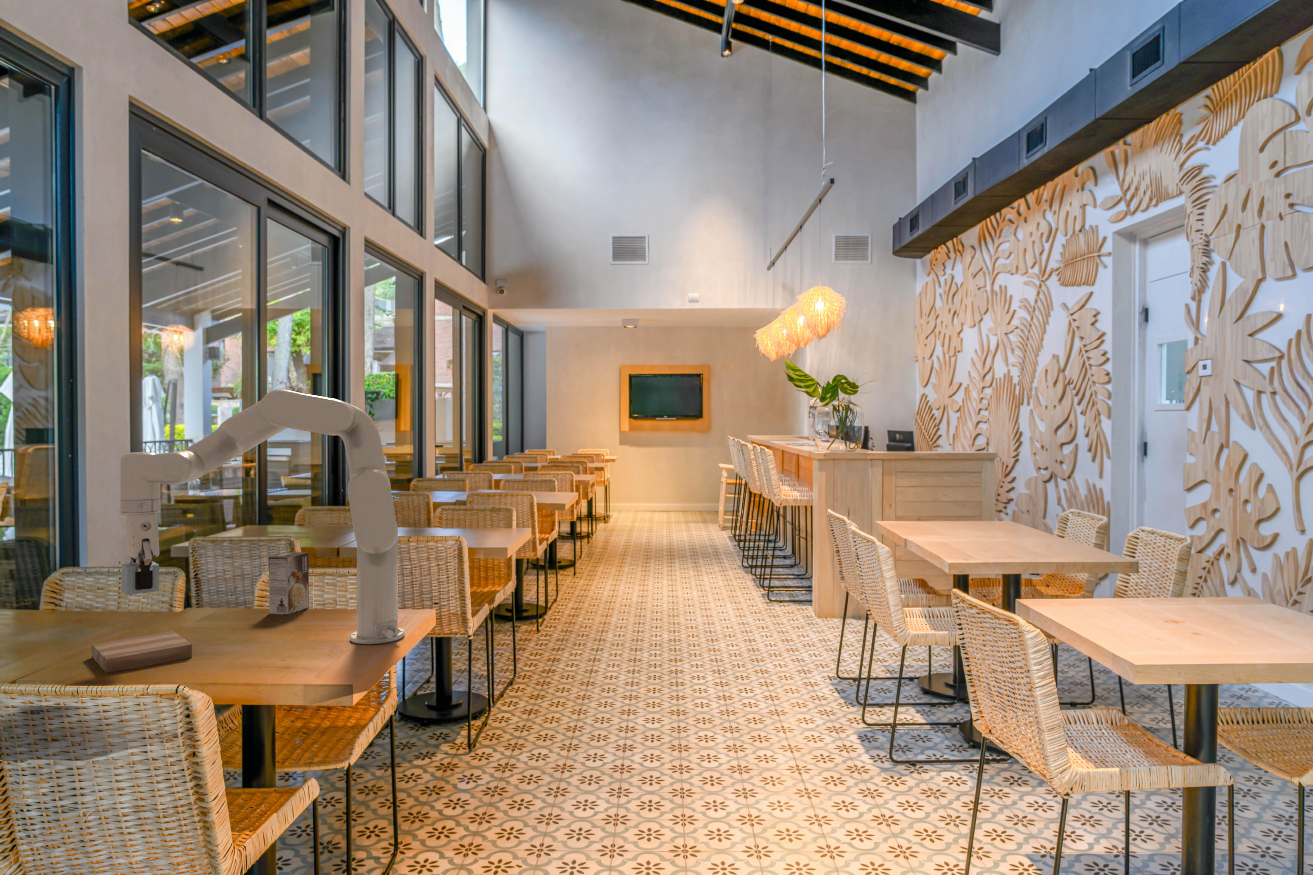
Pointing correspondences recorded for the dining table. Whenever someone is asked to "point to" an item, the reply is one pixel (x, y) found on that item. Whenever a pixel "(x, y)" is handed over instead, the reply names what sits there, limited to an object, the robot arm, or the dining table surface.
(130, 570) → the light grey cube
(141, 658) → the walnut base
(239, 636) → the dining table surface
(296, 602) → the coffee box
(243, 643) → the dining table surface
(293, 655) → the dining table surface
